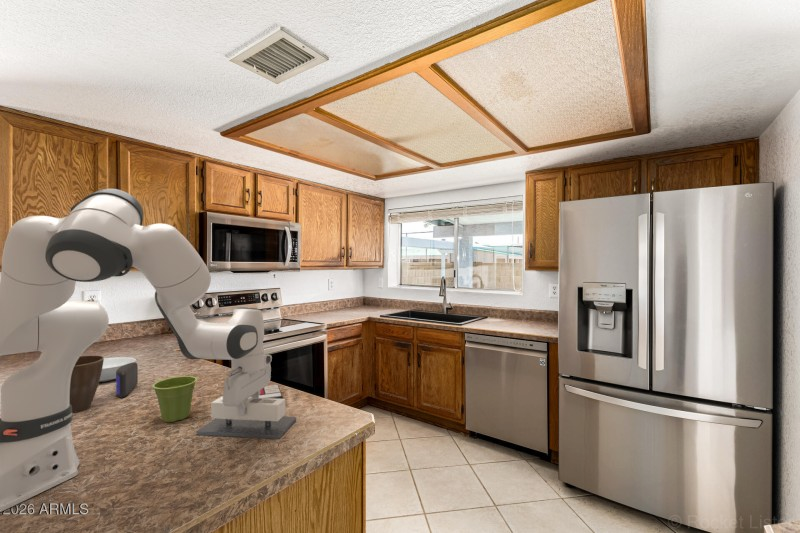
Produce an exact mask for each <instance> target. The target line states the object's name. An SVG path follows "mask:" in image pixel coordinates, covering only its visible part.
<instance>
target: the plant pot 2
mask: <svg viewBox="0 0 800 533" xmlns="http://www.w3.org/2000/svg"><path fill="white" fill-rule="evenodd" d="M197 381H198V378H197V377H196V376H192V375H181V376H174V377H168V378H164V379H162V380H158V381H156V382H155V383H153V384H152V385H151V387H152V389H154V392H155V395H156V396H157V402H158V406H159V410H160V415H161V419H162V421H163V422H165V423H175V422H177V421H182V420H185V419H187V418H188V417H189V416H190V414H191V408H192V407H191V406H192V401H193V394H194V389H195V385H196V382H197Z"/></svg>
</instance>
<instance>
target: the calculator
mask: <svg viewBox="0 0 800 533" xmlns="http://www.w3.org/2000/svg"><path fill="white" fill-rule="evenodd" d="M249 398H252V396H250V397H249ZM259 398H276V399H284V396H283V393H282V391H281V388H280V385H278V384H274V385H267V386H265V387H264V388H262V389H261V390H260V396H259Z"/></svg>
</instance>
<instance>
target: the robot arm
mask: <svg viewBox="0 0 800 533" xmlns="http://www.w3.org/2000/svg"><path fill="white" fill-rule="evenodd" d="M143 222H144V210H143V207H142V205H141V202H139V201H138V200H137V198H135V197H134V196H133V195H132V194H130V193H128V192H126V191H123V190H121V189H118V188H103V189H100V190H97V191H93V192H91V194H89V195H87V196H85V197H84V198H82V199H81V200H80V201H79V202H77V203H75V204H74V205H73V206H71V208H70V212H69V214H68V215H66V216H65V217H54V216H50V215H31V216H26V217H24V218H21V219H19V220H17V221H16V222H14V224H13V225H12V226H11V228H10V229H9V231H8V234H7V236H6V239H5V241H4V245H3V246H4V247H3V251H2V254H1V255H2V257H1V270H0V271H1V273H0V357H1V356H7V355H15V354H16V355H17V354H24V353H33V352H41V354H40V355H39V357H38V358H37V360H36V361H34V362H32V363H31V364H29V365H27V366H24V367H22V368H21V369H19V370H17V371H15V372H13V373H12V374H10V375H9V376H8V377H6V379H5V380H4V381H3V382H2V385H1V387H0V513H1V512H3V511H5V510H8V509H10V508H11V507H15V506H16V505H18V504H21V503H22V502H24V501H26V500H29V499H30V498H33V497H35V496H37V495H39V494H41V493H43V492H45V491H48V490H50V489H51V488H53V487H55V486H57V485H60V484H62V483H63V482H64V483H65V482H66V481H68V480H70V479H72V478H74V477H76V476H78V466H79V465H80V460H79V458H78V455H77V452H76V448H75V445H74V441H73V434H72V428H71V426H72V425H71V422H72V421H73V414H74V413H72V405H71V404H70V382H71V375H72V371H73V368H74V366H75V364H76V362H77V360H78V359H79V357H80V356H83V355H82V354H83V353H84V352H85V351H86V350H88V348H90V346H91V345H93V344H94V343H95V342H97V341H99V340H100V339H101V338H102V337H103V336H104V334H105V333H106V331H107V329H108V326H109V315H108V312H107V311H106V309H105V308H104V307H103V306H102V305H101V304H100V303H98V302H97V301H96V302H95V301H87V300H75V299H73V300H71V298H72V296H73V295H74V293H75V289H76V284H77V283H76V282H79V283H80V282H82V283H91V282H92V283H93V282H101V281H105V280H108V279H110V278H112V277H113V278H114V277H124V276H125V275H126V274H128V273H129V272H130V271H131V269H132V268H135V269H136V270H139V271H140V272H141V274H143V276H144V277H145V279H146V280H148V282H149V284H150V285H151V286H152V287H153V289H154V290H155V292H154V300H155V303H156V306H157V308H158V310H159V311H160V313H161V315H162V316H163V318H164V319H165V321H166V323H167V324H168V326H169V327H170V330H171V331H172V333H173V334H174V336H175V338H176V340H177V344H178V348H179V350H180V351H181V353H182V355H183V356H184V357H185V358H187V359H188V360H205V359H206V360H229V361H231V370H230V371H229V373H228V374H227V377H226V378H225V380H224V383H223V388H222V389H223V390H222V391H223V392H222V397H223V404H224V406H229V407H235V406H236V407H237V409H238V415H239V416H244V415H245V414H246V413H247V408H245V406H244V404H245V400H246V399H247V398H249V397H250V396H252V398H259V396H260V390H261V389H262V388H264V387H265V386H269V384H270V381H271V378H272V376H271V375H272V374H271V372H272V367H271V362H272V359H273V357H272V355H271V354H265V347H264V344H263V343H264V339H265V324H264V322H265V321H264V317H263V316H264V315H263V313H262V311H261V309H259V308H257V307H246V306H245V307H241V306H240V307H236V308H234V309H233V313H232V316H231V317H230V319H229V320H227V321H226V322H208V321H204V320H203V321H202V320H200V319H198V318H197V317H196V316H195V314H194V312H193V310H192V308H191V305H193V304H195V303H197V302H198V301H199V300H201V299H202V298H203V297H204V296H205V295H206V293H207V292H208V290H209V288H210V287H211V286H210V285H211V281H212V276H211V273H210V270H209V268H208V267H207V265H206V262H204V260H203V258H202V257H201V256H200V254H199V253H198V251H197V250H196V248H195V247H194V245H192V244H191V242H190V241H189V240H188V239H187V238H186V236H185V235H183V234H182V233H181V232H180V231H179V230H178V229H177V228H176V227H175V226H173V225H171V224H169V223H160V222H159V223H158V222H157V223H152V224H149V225H146V226H145V225H143Z"/></svg>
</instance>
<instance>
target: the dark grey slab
mask: <svg viewBox="0 0 800 533" xmlns="http://www.w3.org/2000/svg"><path fill="white" fill-rule="evenodd" d="M138 375H139V374H138V363H137V362H136V363H135V362H133V363H129V364H126V365H123V366H121V367H120V368H118V369H117V371H116V379H115V394H116V396H117V397H118V398H120V399H121V398H125V397H127V396H128V395H129V393H131V391H132V390H134V388H136V386H137V385H138V382H139V379H138Z"/></svg>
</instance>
